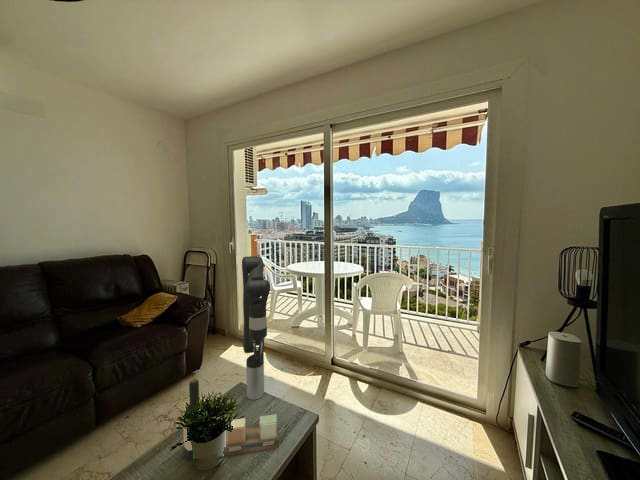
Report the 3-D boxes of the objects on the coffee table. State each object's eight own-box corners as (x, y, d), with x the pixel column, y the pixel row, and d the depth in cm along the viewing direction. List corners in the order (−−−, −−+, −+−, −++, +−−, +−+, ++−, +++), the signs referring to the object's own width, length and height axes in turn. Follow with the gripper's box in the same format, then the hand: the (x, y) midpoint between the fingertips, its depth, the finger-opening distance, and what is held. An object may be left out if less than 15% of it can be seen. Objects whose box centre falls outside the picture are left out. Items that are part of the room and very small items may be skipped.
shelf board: (222, 433, 111) (222, 426, 110) (277, 425, 115) (277, 417, 115) (216, 459, 99) (216, 450, 98) (278, 448, 103) (278, 440, 103)
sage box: (260, 434, 108) (259, 416, 108) (276, 431, 109) (276, 414, 109) (259, 443, 103) (259, 424, 103) (276, 440, 105) (276, 422, 104)
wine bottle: (197, 462, 97) (195, 388, 95) (179, 458, 99) (176, 385, 97) (211, 444, 105) (209, 375, 103) (193, 440, 107) (192, 373, 105)
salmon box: (228, 438, 106) (228, 420, 105) (245, 435, 107) (245, 418, 107) (226, 448, 101) (226, 429, 101) (244, 445, 102) (244, 426, 102)
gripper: (266, 332, 102) (266, 370, 103) (267, 318, 116) (267, 352, 117) (247, 333, 101) (247, 372, 102) (250, 319, 115) (251, 353, 116)
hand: (258, 361), depth 110 cm, fingers open, 8 cm apart
